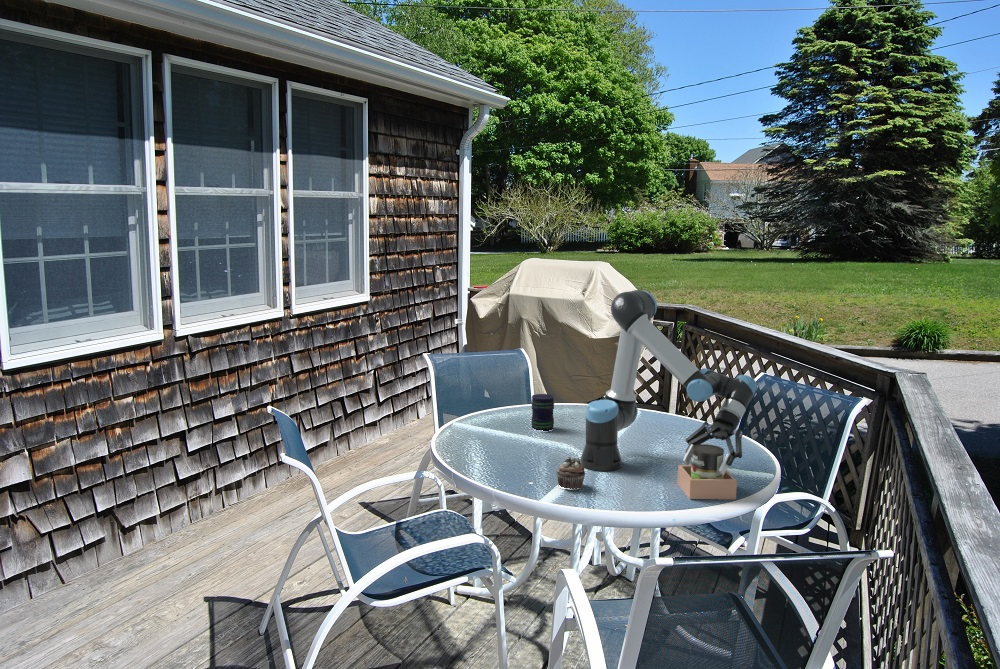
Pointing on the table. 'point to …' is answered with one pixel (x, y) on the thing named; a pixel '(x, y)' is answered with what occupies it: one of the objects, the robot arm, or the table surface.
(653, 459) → the table surface
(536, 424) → the storage jar
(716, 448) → the coffee can
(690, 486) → the planter box
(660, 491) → the table surface
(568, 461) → the cupcake
